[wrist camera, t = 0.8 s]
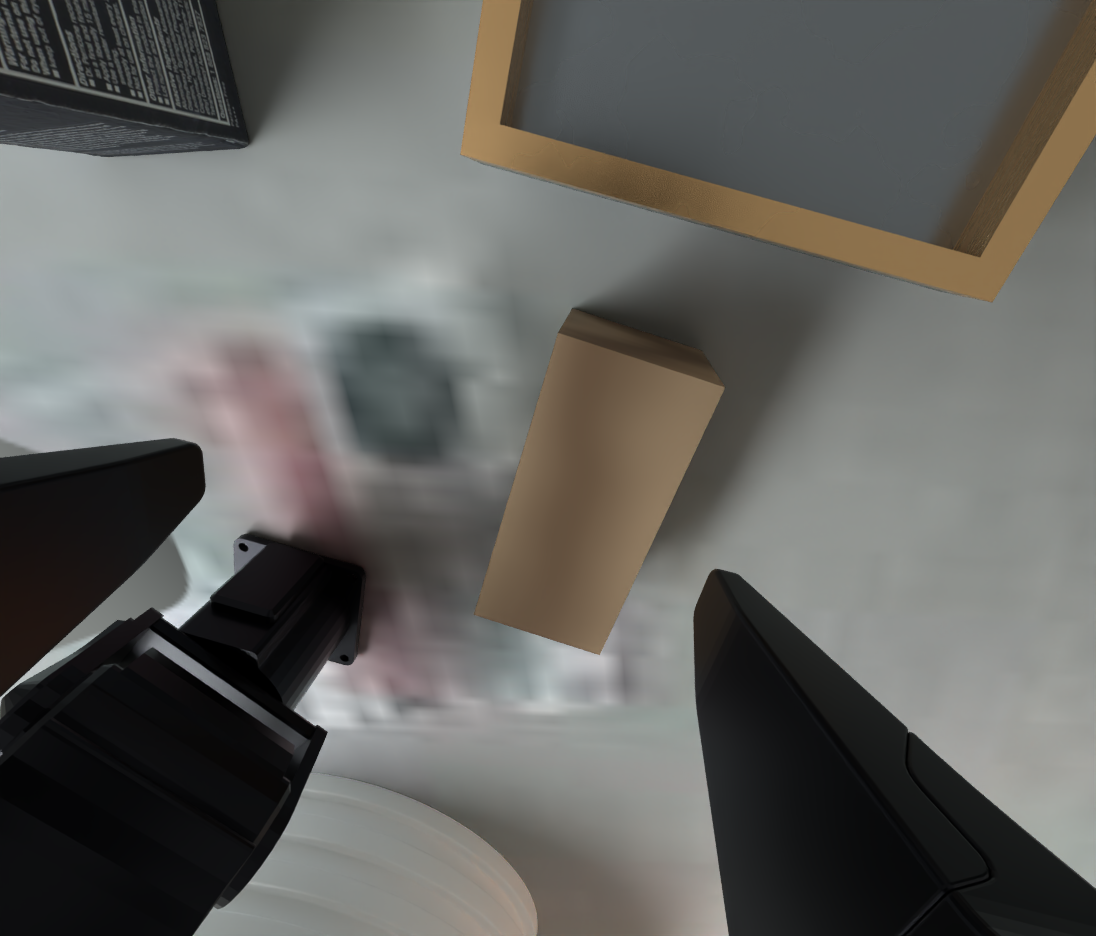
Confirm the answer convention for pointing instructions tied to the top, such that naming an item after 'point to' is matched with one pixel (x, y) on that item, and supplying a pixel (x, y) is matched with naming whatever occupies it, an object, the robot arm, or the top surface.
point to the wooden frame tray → (802, 119)
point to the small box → (117, 77)
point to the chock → (595, 478)
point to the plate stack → (376, 873)
